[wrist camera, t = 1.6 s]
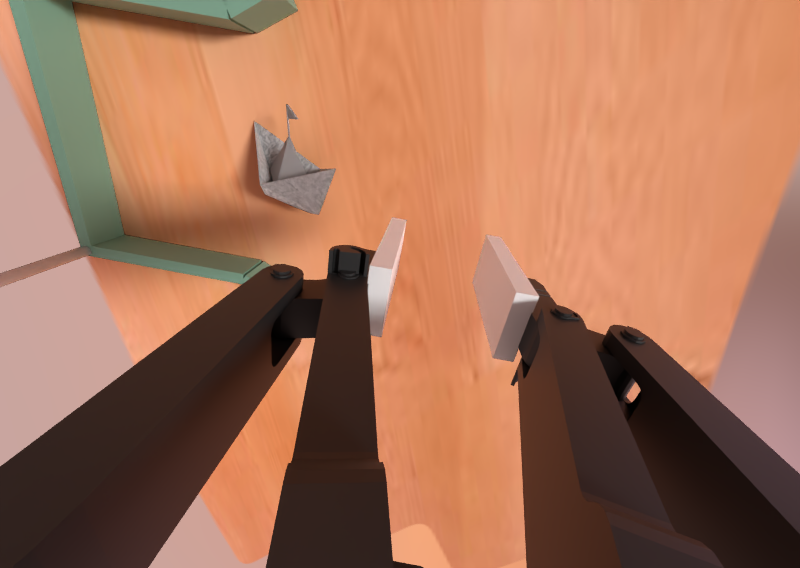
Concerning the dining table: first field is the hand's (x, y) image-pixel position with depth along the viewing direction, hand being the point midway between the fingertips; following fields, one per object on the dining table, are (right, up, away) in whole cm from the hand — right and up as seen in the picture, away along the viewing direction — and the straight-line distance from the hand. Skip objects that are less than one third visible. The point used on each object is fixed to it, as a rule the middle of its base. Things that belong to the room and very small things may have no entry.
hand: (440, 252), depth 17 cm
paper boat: (-11, +10, +15) cm, 21 cm away
